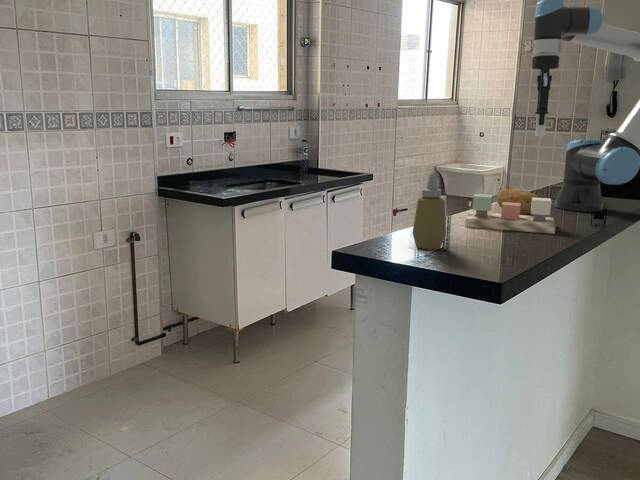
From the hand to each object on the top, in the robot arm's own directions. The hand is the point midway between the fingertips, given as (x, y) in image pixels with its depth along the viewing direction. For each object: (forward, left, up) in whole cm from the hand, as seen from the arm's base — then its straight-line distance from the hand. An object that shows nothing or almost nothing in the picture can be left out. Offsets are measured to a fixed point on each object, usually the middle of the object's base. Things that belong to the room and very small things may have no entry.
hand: (540, 135), depth 183 cm
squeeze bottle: (+49, +33, -25) cm, 64 cm away
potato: (+3, -4, -25) cm, 26 cm away
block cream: (+8, +16, -23) cm, 29 cm away
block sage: (+22, +8, -23) cm, 33 cm away
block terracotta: (+15, +12, -25) cm, 31 cm away
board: (+15, +12, -25) cm, 32 cm away
